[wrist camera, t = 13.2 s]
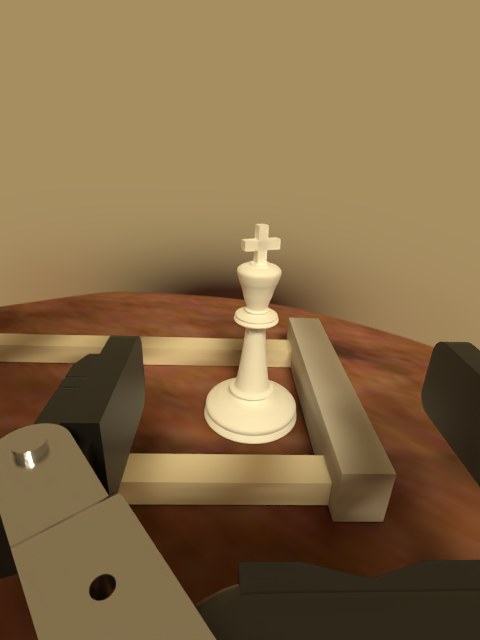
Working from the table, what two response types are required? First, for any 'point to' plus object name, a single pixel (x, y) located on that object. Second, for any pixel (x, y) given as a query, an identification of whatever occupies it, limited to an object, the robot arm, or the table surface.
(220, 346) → the track
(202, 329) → the table surface
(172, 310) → the table surface
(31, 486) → the robot arm
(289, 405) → the chess piece
